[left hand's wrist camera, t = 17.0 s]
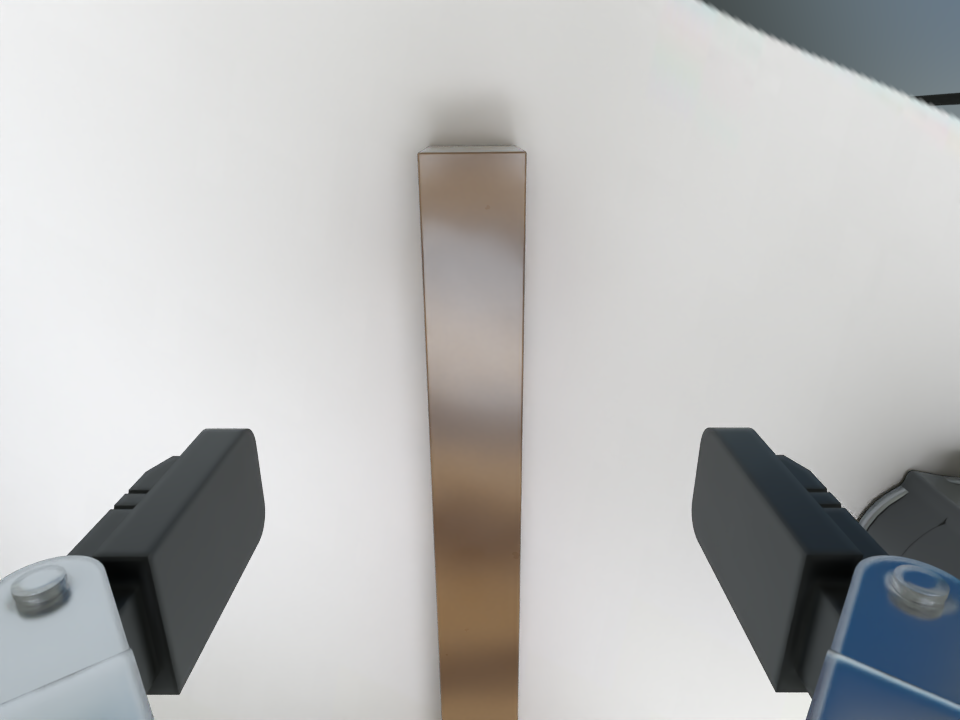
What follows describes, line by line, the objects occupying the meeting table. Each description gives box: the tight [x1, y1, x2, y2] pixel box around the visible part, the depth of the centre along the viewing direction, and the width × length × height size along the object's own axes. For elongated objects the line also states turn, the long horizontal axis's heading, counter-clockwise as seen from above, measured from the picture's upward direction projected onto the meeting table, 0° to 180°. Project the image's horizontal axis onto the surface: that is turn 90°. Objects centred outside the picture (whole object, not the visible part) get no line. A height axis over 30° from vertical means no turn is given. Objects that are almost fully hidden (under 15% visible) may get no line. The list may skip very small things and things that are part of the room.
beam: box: [417, 146, 527, 720], centre depth 40 cm, size 56×5×6 cm, turn 1°
